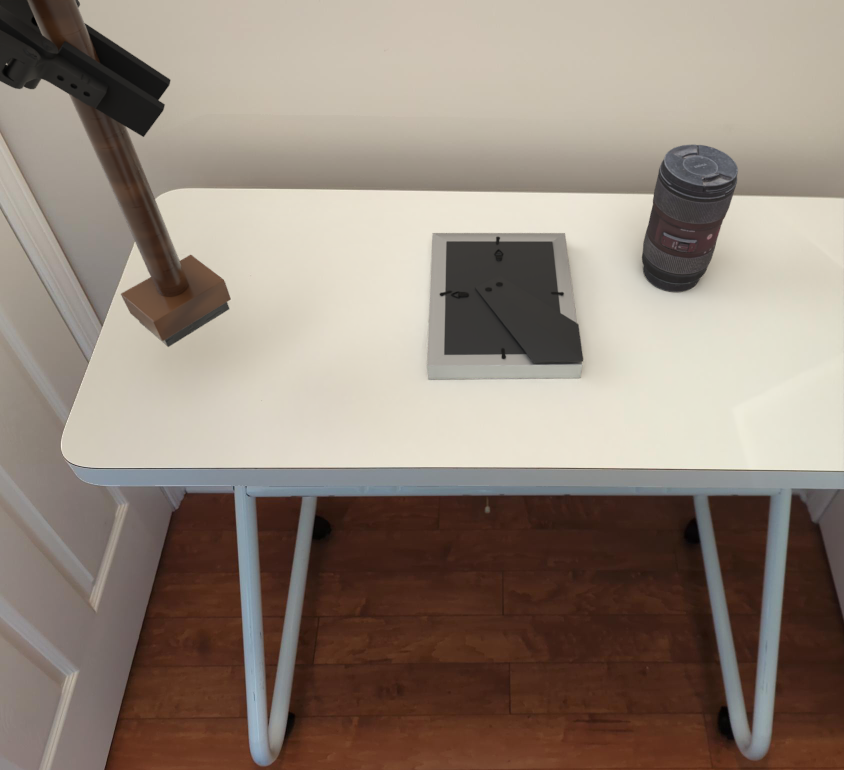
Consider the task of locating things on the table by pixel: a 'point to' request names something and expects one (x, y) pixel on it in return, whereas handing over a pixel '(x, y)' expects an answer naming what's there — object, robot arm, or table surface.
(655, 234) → the camera lens
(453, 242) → the picture frame
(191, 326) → the brown piece
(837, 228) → the table surface
